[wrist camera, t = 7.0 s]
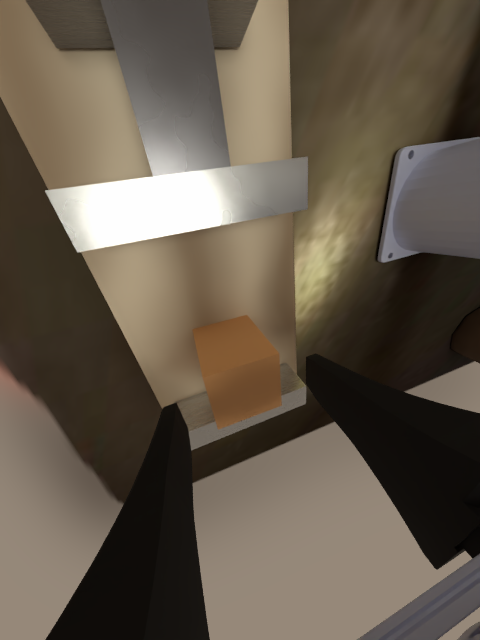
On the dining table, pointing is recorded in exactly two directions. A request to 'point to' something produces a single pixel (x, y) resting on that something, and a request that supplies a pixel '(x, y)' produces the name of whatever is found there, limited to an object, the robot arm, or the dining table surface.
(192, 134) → the moving jaw
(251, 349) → the orange block
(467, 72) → the dining table surface
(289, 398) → the fixed jaw
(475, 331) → the beer bottle
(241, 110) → the vise bed
